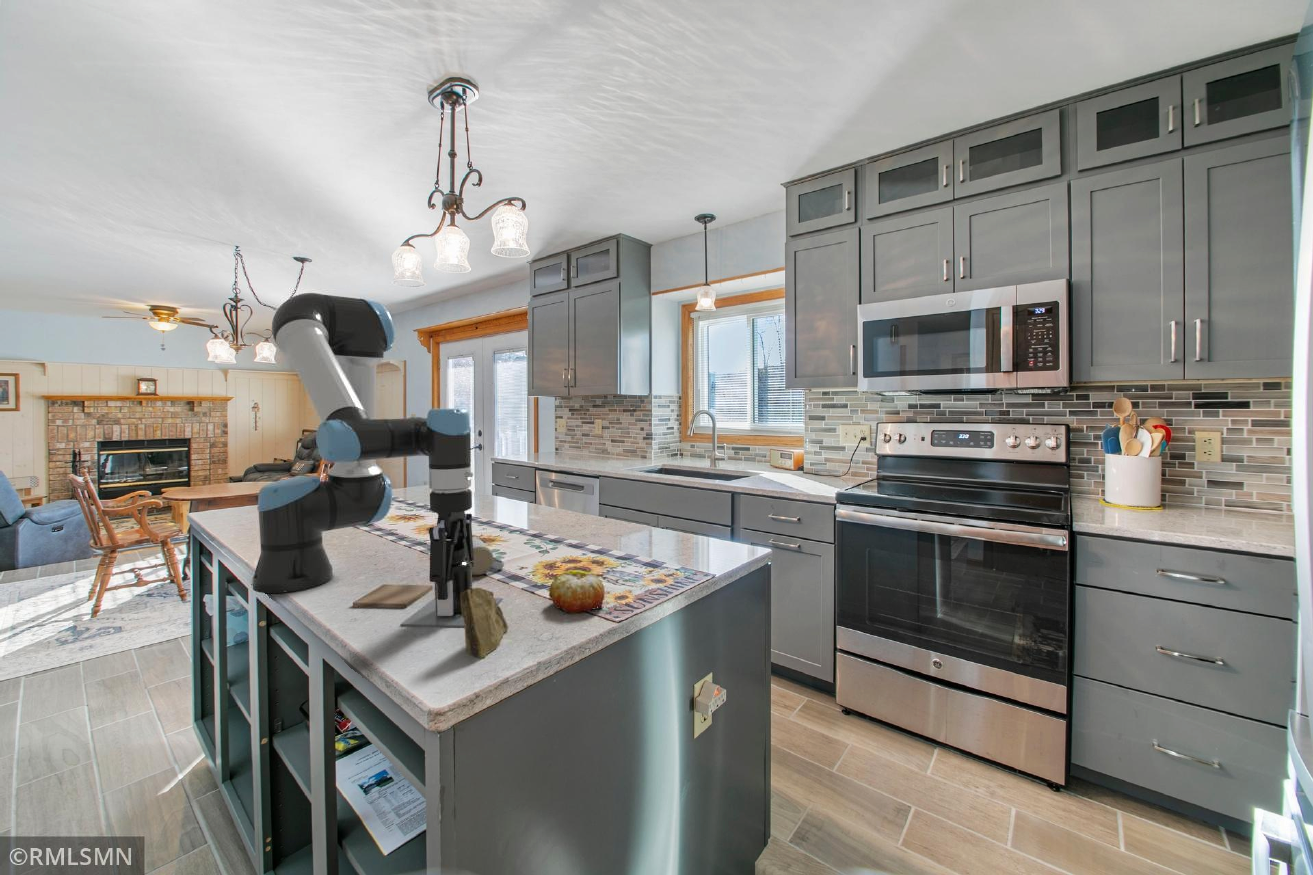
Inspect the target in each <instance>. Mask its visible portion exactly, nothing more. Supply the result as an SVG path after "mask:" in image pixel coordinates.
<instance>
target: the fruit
mask: <svg viewBox="0 0 1313 875" xmlns="http://www.w3.org/2000/svg"><path fill="white" fill-rule="evenodd" d="M548 590H549V591H548V592H549V593H548V597H550V599H551V600H552V602H553V604H554V606H555V607H556V608H558V609H560V610H564V611H565V612H566V613H571V614H574V613H575V614H577V613H579V612H580V613H581V612H582V611H584V612H582V613H586V612H585V611H588V610H590V611H592V610H591V609H593V608H597V607H599V606H600V607H601V606H602V605H603V604H604V602H603V601H604V599H605V594H606V592H605V586H604V583H603V581H602V580H601V579H600V578H599V577H598V576H597V575H596V574H594V573H592V572H586V571H583V570H581V569H579V570H578V569H573V570H572V569H570V570H566V571H564V572H561V573H560V574H558V575H556V577H555V578H554V579H553V580H552V582H551V584H550V586H549V589H548ZM600 607H599V608H600ZM597 609H598V608H597ZM588 612H589V611H588Z"/></svg>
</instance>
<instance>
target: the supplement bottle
mask: <svg viewBox="0 0 1313 875" xmlns="http://www.w3.org/2000/svg"><path fill="white" fill-rule="evenodd" d="M465 558H466V548H465V547H463V546H454V549H453V557H452V565H451V573H450V580H452V584H453V615H458V614H462V609H461V593H462V592H464V591H466V590H471V589H473V575H472V566H471V563H470V562H469V561H467V560H465ZM434 598H435V608H436V612H437V583H436V582H434Z"/></svg>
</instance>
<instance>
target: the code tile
mask: <svg viewBox="0 0 1313 875" xmlns="http://www.w3.org/2000/svg"><path fill="white" fill-rule="evenodd" d="M494 599H495V601H496V603H497V606H499V604H500V603H501V602H502V601H503V600H504V598H502V597H494ZM400 626H402V627H406V626H407V627H409V626H410V627H441V628H442V627H445V628H446V627H447V628H448V627H449V628H450V627H451V628H465V624H464V619H463V614H458V615H452V616H438V615H437V612H436V608H435V597H434V598H433V599H431V600H430V601H429V602H428V603H426V604H425V605H424V606H422V607H421V608H420V609H418V610H417V611H416V612H414V613H413V614H411V615H410V616H409V617H407V619H405V620H404V621H402V622H401V623H400Z"/></svg>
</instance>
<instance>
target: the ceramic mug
mask: <svg viewBox="0 0 1313 875" xmlns="http://www.w3.org/2000/svg"><path fill="white" fill-rule="evenodd" d="M472 540H473V554H474V560H473V561H470V562H474V566H473V567H472V576H477V577H478V576H482V575H484V574H486V573H488V572H489V571H490V570H491V569H495V570H502V569H503V568H504V565H505V562H504V561H503V560H501V559H499V558H497V557H494V554H493V551H492V550H491V549H490V548H489V547H488V545H487V544H486V543H484V542H483V541H482V540H481V539H479V538H478V537H472Z"/></svg>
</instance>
